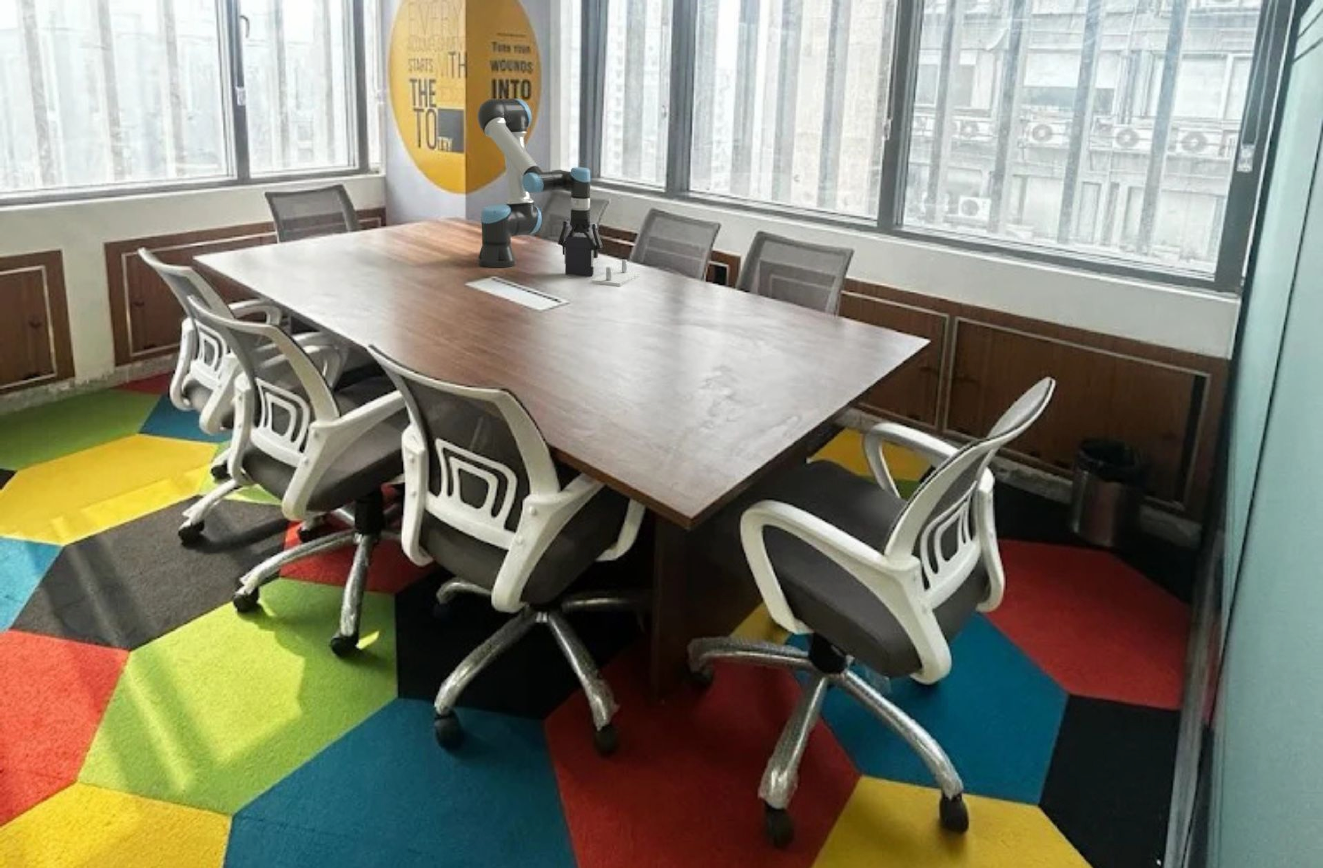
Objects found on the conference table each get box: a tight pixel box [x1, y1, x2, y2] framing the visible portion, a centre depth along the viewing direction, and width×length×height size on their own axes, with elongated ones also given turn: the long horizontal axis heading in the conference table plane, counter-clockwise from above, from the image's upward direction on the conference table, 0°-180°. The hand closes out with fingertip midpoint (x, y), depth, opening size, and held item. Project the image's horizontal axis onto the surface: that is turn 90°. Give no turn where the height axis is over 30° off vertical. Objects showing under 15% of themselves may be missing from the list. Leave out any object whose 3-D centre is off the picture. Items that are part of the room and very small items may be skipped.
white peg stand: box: [590, 259, 642, 287], centre depth 378 cm, size 12×22×6 cm, turn 160°
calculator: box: [564, 235, 595, 277], centre depth 382 cm, size 11×4×15 cm, turn 84°
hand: (580, 264), depth 383 cm, fingers closed on calculator, 11 cm apart
